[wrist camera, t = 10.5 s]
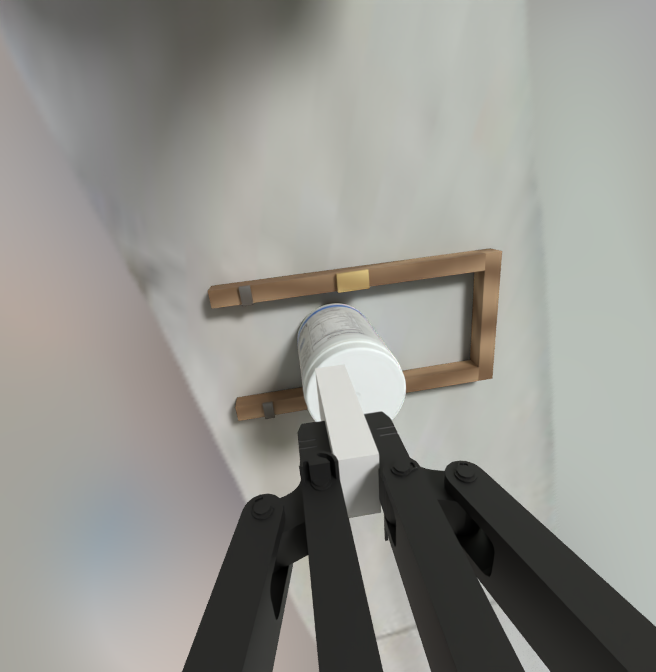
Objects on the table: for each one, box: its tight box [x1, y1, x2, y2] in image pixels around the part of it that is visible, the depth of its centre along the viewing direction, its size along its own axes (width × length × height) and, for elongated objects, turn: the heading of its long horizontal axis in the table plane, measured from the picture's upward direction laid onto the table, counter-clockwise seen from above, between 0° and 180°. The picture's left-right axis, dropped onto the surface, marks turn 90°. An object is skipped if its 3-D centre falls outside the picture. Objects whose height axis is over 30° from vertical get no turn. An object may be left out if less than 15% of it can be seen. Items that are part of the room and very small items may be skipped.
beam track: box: [208, 248, 502, 421], centre depth 45 cm, size 17×34×3 cm, turn 96°
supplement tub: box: [297, 303, 406, 422], centre depth 39 cm, size 10×10×15 cm
